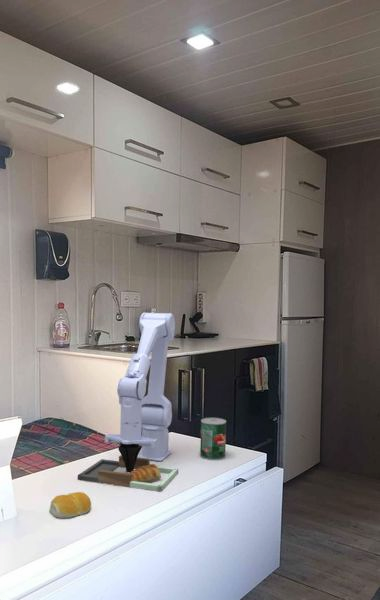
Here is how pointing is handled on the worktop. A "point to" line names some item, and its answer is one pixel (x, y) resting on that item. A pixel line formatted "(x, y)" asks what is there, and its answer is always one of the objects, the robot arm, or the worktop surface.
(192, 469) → the worktop surface
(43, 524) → the worktop surface
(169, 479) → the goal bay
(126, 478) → the corridor
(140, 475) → the pastry
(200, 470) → the worktop surface
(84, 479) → the tray
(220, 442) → the canned tomato
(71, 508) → the bread roll
